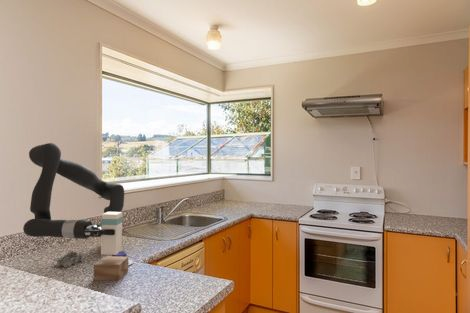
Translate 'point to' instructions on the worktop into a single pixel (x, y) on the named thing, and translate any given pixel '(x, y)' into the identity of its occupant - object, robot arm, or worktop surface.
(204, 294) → the worktop surface
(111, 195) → the robot arm
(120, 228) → the milk carton
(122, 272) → the brown square block
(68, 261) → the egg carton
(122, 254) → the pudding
